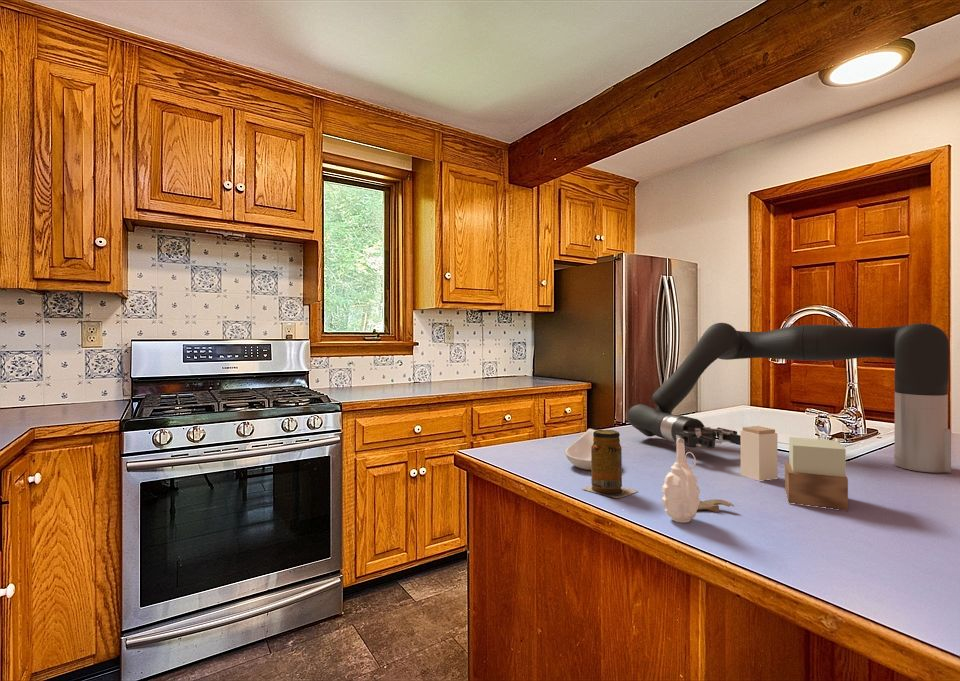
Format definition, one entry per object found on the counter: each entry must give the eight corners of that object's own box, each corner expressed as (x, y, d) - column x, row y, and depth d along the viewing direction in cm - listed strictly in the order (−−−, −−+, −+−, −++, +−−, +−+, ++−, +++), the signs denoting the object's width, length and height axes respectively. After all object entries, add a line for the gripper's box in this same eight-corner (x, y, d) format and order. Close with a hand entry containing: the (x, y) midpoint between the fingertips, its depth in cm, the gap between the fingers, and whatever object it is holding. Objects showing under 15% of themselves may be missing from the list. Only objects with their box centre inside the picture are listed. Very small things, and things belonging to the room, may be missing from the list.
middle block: (837, 466, 98) (837, 440, 98) (845, 477, 90) (845, 449, 90) (789, 462, 101) (789, 437, 101) (793, 472, 94) (793, 445, 94)
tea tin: (758, 473, 114) (758, 425, 114) (777, 479, 109) (777, 429, 109) (740, 475, 112) (740, 427, 112) (759, 481, 108) (758, 431, 107)
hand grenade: (655, 513, 90) (654, 435, 89) (689, 512, 90) (688, 434, 90) (675, 530, 82) (674, 444, 82) (711, 528, 83) (711, 443, 83)
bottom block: (839, 497, 98) (839, 466, 98) (847, 512, 90) (847, 478, 90) (785, 490, 102) (784, 461, 102) (788, 504, 94) (788, 472, 94)
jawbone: (690, 523, 88) (689, 511, 88) (631, 489, 108) (630, 479, 108) (735, 514, 90) (734, 502, 90) (669, 482, 110) (668, 473, 110)
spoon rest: (614, 476, 114) (614, 444, 114) (562, 472, 117) (561, 441, 117) (618, 452, 136) (618, 425, 136) (574, 449, 140) (574, 423, 140)
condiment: (603, 482, 109) (603, 427, 108) (638, 492, 102) (637, 432, 102) (581, 489, 104) (581, 431, 104) (616, 500, 97) (616, 438, 97)
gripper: (659, 417, 132) (703, 428, 117) (704, 414, 136) (752, 424, 121) (659, 446, 132) (704, 461, 117) (704, 442, 137) (753, 455, 121)
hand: (728, 442), depth 119 cm, fingers open, 8 cm apart
